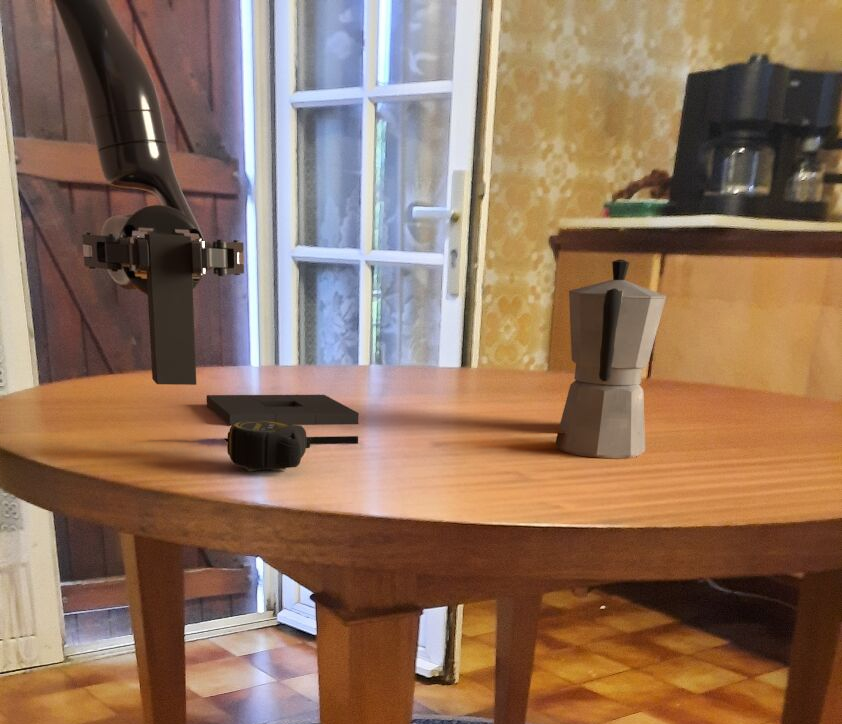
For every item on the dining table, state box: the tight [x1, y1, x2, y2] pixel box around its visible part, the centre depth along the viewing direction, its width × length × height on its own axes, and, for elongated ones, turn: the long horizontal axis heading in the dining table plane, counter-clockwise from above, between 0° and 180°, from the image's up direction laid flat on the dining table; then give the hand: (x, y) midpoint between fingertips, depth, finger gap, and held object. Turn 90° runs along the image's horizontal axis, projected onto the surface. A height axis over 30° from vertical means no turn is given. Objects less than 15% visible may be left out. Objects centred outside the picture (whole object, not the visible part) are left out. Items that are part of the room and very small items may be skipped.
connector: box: [144, 234, 197, 386], centre depth 86 cm, size 3×3×11 cm
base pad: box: [206, 394, 360, 445], centre depth 111 cm, size 13×13×3 cm
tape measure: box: [226, 421, 312, 472], centre depth 94 cm, size 7×7×4 cm
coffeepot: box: [554, 258, 667, 459], centre depth 106 cm, size 15×9×18 cm, turn 167°
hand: (170, 257), depth 82 cm, fingers closed on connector, 3 cm apart
